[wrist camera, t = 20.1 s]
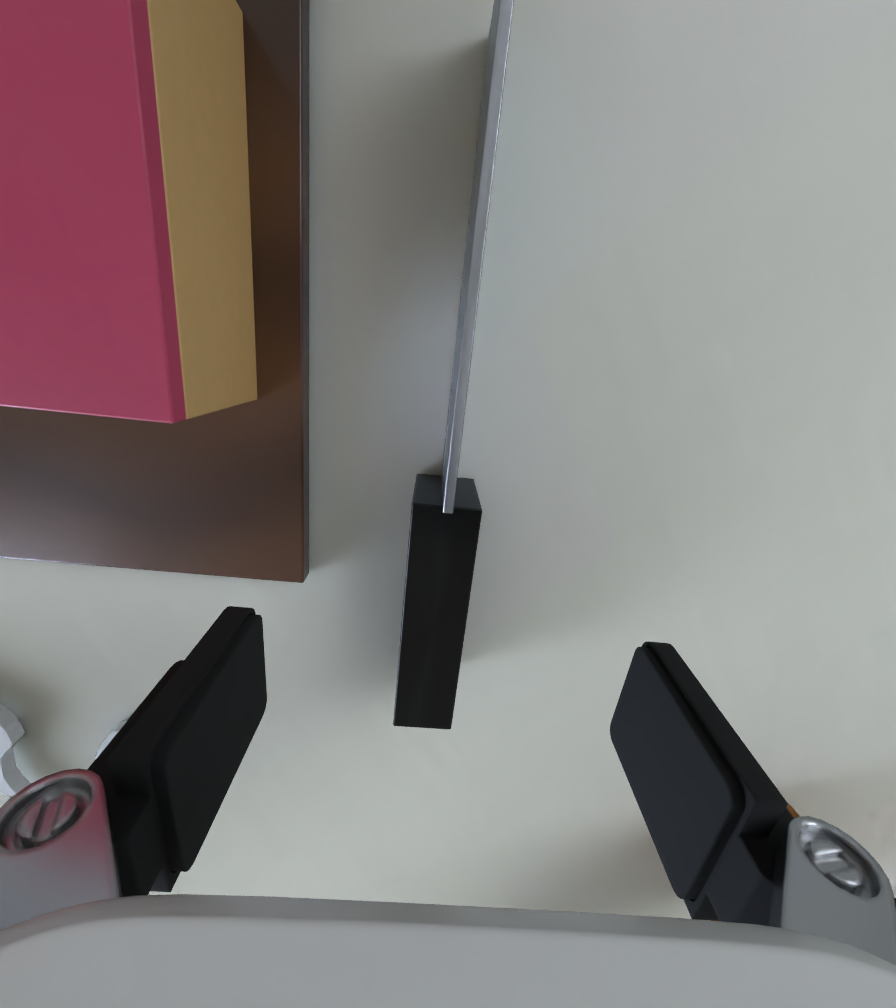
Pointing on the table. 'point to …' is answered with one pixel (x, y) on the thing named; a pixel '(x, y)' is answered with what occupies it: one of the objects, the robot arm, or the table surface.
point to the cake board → (210, 437)
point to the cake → (125, 209)
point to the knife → (450, 467)
